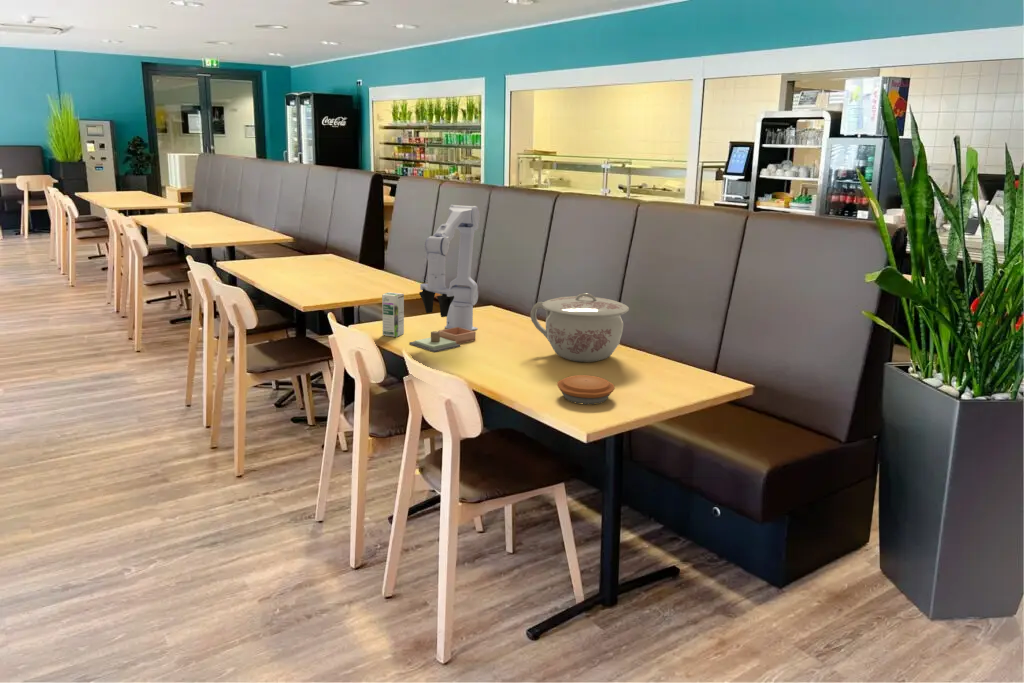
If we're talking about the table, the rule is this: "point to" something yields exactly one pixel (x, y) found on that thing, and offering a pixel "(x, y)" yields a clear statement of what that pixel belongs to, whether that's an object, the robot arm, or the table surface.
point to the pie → (585, 389)
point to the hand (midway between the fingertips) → (436, 314)
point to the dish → (458, 334)
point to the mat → (435, 348)
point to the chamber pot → (582, 326)
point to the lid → (435, 341)
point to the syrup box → (393, 314)
